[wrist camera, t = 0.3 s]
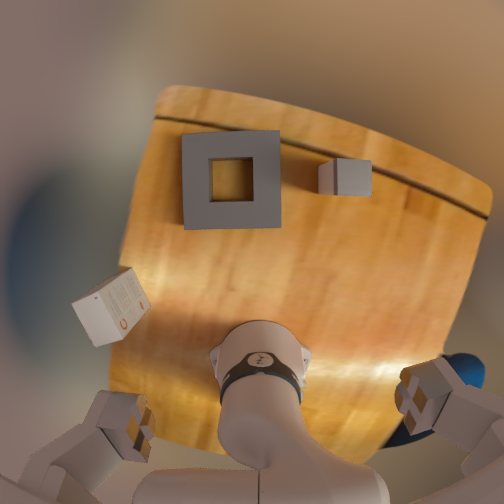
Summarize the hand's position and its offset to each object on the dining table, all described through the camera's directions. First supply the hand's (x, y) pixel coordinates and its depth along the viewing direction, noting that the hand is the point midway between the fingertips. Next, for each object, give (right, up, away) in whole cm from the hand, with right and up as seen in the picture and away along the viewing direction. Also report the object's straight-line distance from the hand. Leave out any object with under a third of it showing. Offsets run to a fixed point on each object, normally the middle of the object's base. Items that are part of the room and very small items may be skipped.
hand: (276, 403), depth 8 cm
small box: (-23, -3, +43) cm, 49 cm away
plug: (+12, +16, +38) cm, 43 cm away
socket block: (-4, +16, +38) cm, 42 cm away
